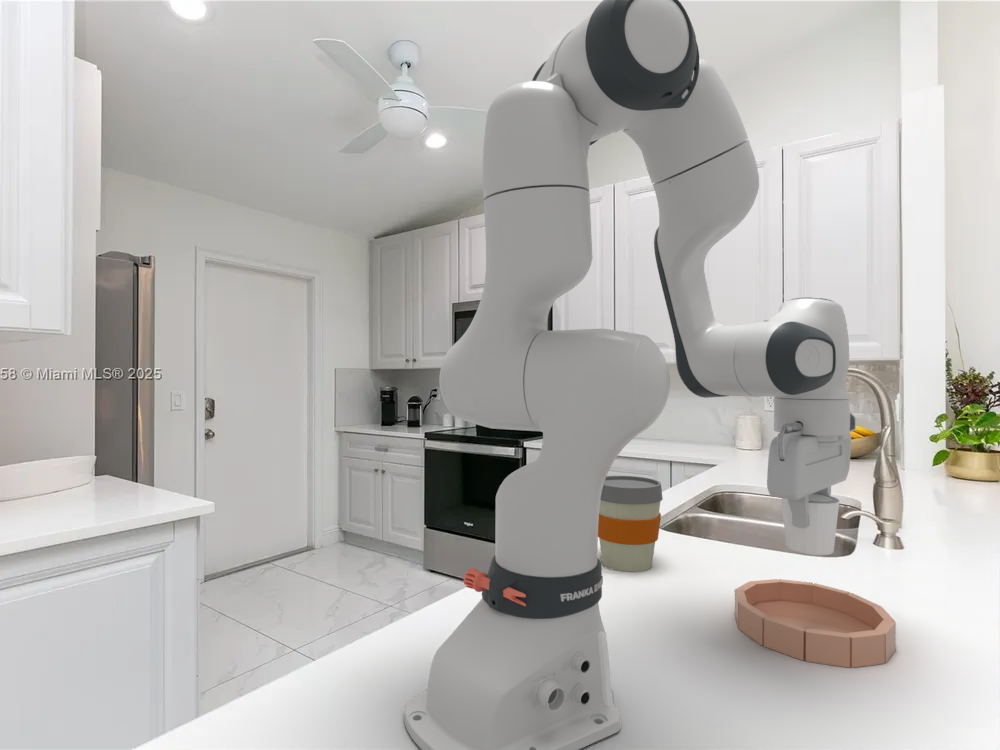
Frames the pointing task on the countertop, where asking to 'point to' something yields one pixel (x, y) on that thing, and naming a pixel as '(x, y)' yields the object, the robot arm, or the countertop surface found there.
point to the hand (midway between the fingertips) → (810, 522)
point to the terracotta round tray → (815, 622)
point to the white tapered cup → (813, 526)
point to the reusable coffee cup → (629, 522)
